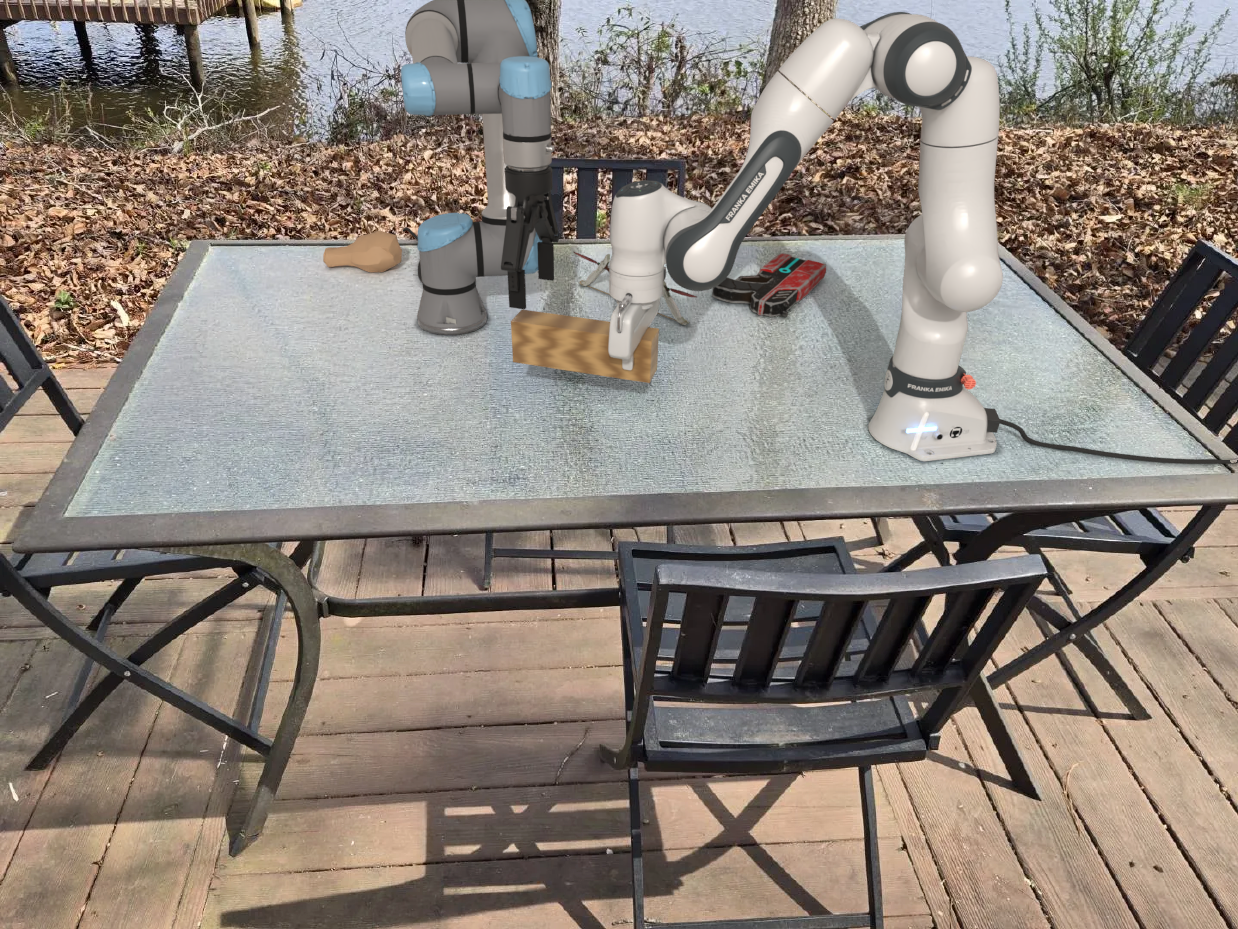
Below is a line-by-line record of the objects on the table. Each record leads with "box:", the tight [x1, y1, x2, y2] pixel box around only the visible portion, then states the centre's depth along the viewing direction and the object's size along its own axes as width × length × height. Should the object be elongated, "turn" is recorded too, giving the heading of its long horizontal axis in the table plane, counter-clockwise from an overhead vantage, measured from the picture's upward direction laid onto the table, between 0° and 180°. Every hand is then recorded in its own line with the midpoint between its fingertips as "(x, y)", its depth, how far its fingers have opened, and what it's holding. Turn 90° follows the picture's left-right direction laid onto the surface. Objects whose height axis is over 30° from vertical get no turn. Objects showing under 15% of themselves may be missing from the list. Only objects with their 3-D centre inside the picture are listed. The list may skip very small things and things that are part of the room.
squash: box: [322, 230, 403, 273], centre depth 220 cm, size 11×20×9 cm, turn 90°
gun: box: [711, 252, 827, 318], centre depth 215 cm, size 4×31×19 cm
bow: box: [573, 251, 698, 326], centre depth 205 cm, size 39×2×10 cm, turn 47°
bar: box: [510, 309, 660, 384], centre depth 152 cm, size 25×5×8 cm, turn 74°
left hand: (532, 293), depth 150 cm, fingers open, 13 cm apart
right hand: (633, 359), depth 151 cm, fingers closed on bar, 5 cm apart
